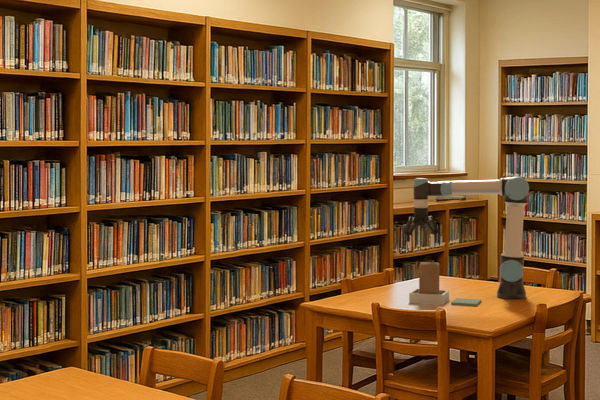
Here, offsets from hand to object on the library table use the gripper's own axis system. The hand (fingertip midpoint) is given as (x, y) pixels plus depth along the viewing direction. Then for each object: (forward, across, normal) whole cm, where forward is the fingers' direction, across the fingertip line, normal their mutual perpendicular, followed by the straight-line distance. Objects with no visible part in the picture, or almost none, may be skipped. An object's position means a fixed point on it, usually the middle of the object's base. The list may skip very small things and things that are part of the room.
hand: (421, 247), depth 441 cm
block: (+27, +1, +11) cm, 29 cm away
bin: (+27, +1, +11) cm, 29 cm away
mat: (+27, -14, +23) cm, 38 cm away
